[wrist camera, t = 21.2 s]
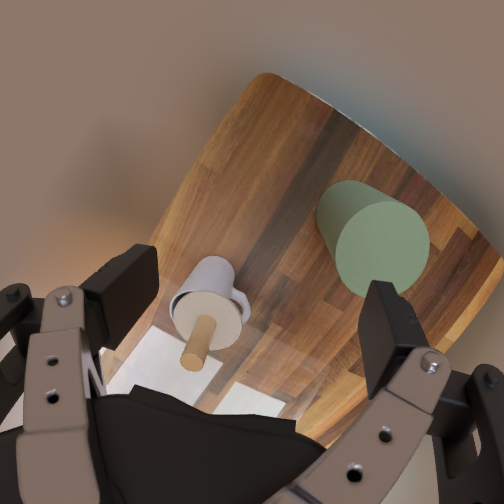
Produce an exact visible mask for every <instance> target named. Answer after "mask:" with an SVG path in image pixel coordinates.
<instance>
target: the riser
mask: <svg viewBox="0 0 504 504" xmlns="http://www.w3.org/2000/svg"><path fill="white" fill-rule="evenodd" d="M316 221H317V225H318V228H319V230H320V232H321V235H322V237H323V239H324V241H325V244H326V246H327V248H328V251H329V253H330V255H331V257H332V260H333V262H334V265H335V267H336V269H337V272H338V274H339V276H340V278H341V280H342V282H343V283H344V284H345V286H346V287H347V288H348V289H349V290H351V291H352V292H353V293H355V294H357V295H359V296H361V297H364V298H366V295H367V291H368V288H369V285H370V283H371V281H372V280H379V281H386V282H392V283H393V285H394V287H395V289H396V291H397V294H400V293H402V292H403V291H405V290H406V289H408V288H409V287H410V286H411V285H412V284H413V283H414V282H415V281H416V280H417V279H418V278H419V276H420V275H421V273H422V271H423V270H424V268H425V265H426V263H427V259H428V256H429V247H430V242H429V235H428V231H427V228H426V226H425V224H424V222H423V220H422V219H421V217H420V216H419V215H418V214H417V213H416V212H415V211H414V210H413V209H411V208H410V207H408V206H406V205H404V204H403V203H401V202H399V201H397V200H395V199H393V198H392V197H390V196H388V195H386V194H384V193H382V192H380V191H378V190H376V189H374V188H372V187H370V186H368V185H366V184H364V183H362V182H359V181H355V180H345V181H341V182H338V183H335V184H334V185H332V186H330V187H329V188H328V189H327V190H326V191H325V192H324V193H323V195H322V196H321V198H320V199H319V202H318V205H317V209H316Z"/></svg>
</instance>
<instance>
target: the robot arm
mask: <svg viewBox="0 0 504 504" xmlns="http://www.w3.org/2000/svg"><path fill="white" fill-rule="evenodd" d="M158 290H159V273H158V258H157V250H156V248H155V247H154V246H149V245H143V244H135V245H134V246H132V247H131V248H130V249H129V250H127V251H126V252H125V253H124V254H121V255H119V256H117V257H114V258H112V259H111V260H110V261H108V262H107V263H106V264H105V265H104V266H102V267H101V268H100V269H99V270H98V272H95V273H94V274H93V275H91V276H90V277H89V278H88V279H87V280H86V281H84V283H82V284H81V285H80V286H79V287H76V286H63V287H59V288H57V289H54V290H53V291H51V292H50V293H49V294H48V295H47V296H46V298H45V299H44V298H32V295H31V292H30V288H29V286H28V285H26V284H22V283H17V284H13V285H10V286H7V287H6V288H4V289H3V290H1V291H0V340H1V339H2V338H3V337H4V336H5V335H6V334H7V333H8V332H9V331H10V333H11V335H12V338H13V340H14V342H15V344H16V345H15V346H14V347H13V348H12V349H11V351H10V352H9V353H8V354H7V355H6V356H5V357H4V359H3V360H2V361H1V362H0V425H1V423H2V422H3V420H4V419H5V417H6V416H7V414H8V413H9V412H10V410H11V409H12V407H13V406H14V404H15V403H16V402H17V400H18V399H19V397H20V396H21V395H22V393H23V392H24V401H23V425H22V426H19V427H16V428H13V429H10V430H7V431H4V432H1V433H0V504H380V503H381V502H382V501H383V499H384V498H385V497H386V495H387V494H388V493H389V491H390V490H391V488H392V487H393V486H394V484H395V483H396V481H397V480H398V478H399V477H400V475H401V474H402V472H403V471H404V469H405V468H406V466H407V465H408V463H409V461H410V460H411V458H412V456H413V455H414V453H415V451H416V450H417V448H418V446H419V445H420V443H421V441H422V439H423V438H424V436H425V434H428V435H432V441H433V447H434V455H435V463H436V472H437V481H438V493H439V504H504V374H503V373H502V372H501V371H500V370H499V369H497V368H496V367H494V366H492V365H489V364H480V365H478V366H477V367H476V368H475V370H474V371H473V373H472V374H471V375H468V374H464V373H461V372H457V371H454V370H451V364H450V361H449V360H448V358H447V357H446V356H445V355H444V354H443V353H442V352H440V351H439V350H437V349H435V348H432V347H430V346H429V343H428V341H427V339H426V336H425V334H424V332H423V329H422V327H421V325H420V324H419V320H418V318H417V317H416V314H415V311H414V309H413V307H412V305H411V304H410V303H409V302H408V301H407V300H405V299H404V298H403V297H399V296H398V294H397V291H396V289H395V287H394V285H393V283H392V282H386V281H379V280H372V281H371V283H370V285H369V288H368V291H367V295H366V298H365V301H364V304H363V307H362V310H361V313H360V317H359V322H358V334H359V340H360V346H361V351H362V358H363V364H364V371H365V377H366V384H367V392H368V400H372V401H371V402H370V403H369V404H368V405H367V407H366V408H365V409H364V410H363V411H362V413H361V414H360V415H359V416H358V417H357V418H356V419H355V421H354V422H353V423H352V424H351V425H350V426H349V427H348V428H347V429H346V430H345V432H344V433H343V434H342V435H341V436H340V437H339V438H338V439H337V440H336V441H335V442H334V443H333V444H332V445H331V446H330V447H329V448H328V449H326V448H324V447H323V446H322V445H320V444H319V443H317V442H316V441H314V440H312V439H311V438H309V437H306V436H304V435H302V434H299V433H296V432H295V427H296V420H289V419H282V418H274V417H268V416H261V415H255V414H246V415H213V414H207V413H204V412H202V411H200V410H198V409H196V408H194V407H192V406H190V405H188V404H186V403H184V402H182V401H180V400H178V399H177V398H175V397H173V396H171V395H168V394H164V393H161V392H158V391H154V390H151V389H148V388H145V387H142V386H139V385H136V384H135V385H134V387H133V388H132V390H131V392H130V393H129V394H111V395H107V391H106V386H105V380H104V374H103V368H102V361H101V355H100V352H99V350H100V349H101V348H102V347H105V348H108V349H111V350H114V351H115V350H116V348H117V347H118V346H119V344H120V343H121V342H122V340H123V339H124V338H125V336H126V335H127V334H128V332H129V331H130V330H131V329H132V327H133V326H134V325H135V323H136V322H137V321H138V319H139V318H140V317H141V316H142V314H143V313H144V312H145V310H146V309H147V308H148V307H149V305H150V304H151V303H152V301H153V300H154V299H155V298H156V296H157V293H158ZM476 428H477V429H478V433H479V437H480V441H481V451H480V454H479V456H477V451H476V447H475V442H474V438H473V434H472V433H473V432H474V430H475V429H476Z"/></svg>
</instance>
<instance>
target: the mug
mask: <svg viewBox="0 0 504 504" xmlns="http://www.w3.org/2000/svg"><path fill="white" fill-rule="evenodd" d="M234 278H235V273H234V269H233V267H232V265H231V264H230V263H229V262H228V261H227V260H226V259H224V258H222V257H219V256H208V257H205V258H203V259H202V260H201V261H200V262H199V263H198V264H197V265H196V267H195V268H194V269H193V271H192V272H191V274H190V275H189V276H188V278H187V279H186V281H185V282H184V283H183V285H182V286H181V288H180V289H179V290H178V292H177V294H176V295H175V297H174V298H173V299H172V301H171V303H170V315H171V318H172V320H173V322H174V318H173V314H174V309H175V307H176V305H177V303H178V302H179V300H180V299H181V298H182V297H183V296H185V295H186V294H188V293H190V292H193V291H198V290H208V291H213V292H217V293H219V294H221V295H224V296H225V297H227V298H228V299H233V300H235V301H237V302H238V303H239V304H240V305H241V307H242V309H243V314H242V315H241V318H242V325H243V324H244V323H246V322H247V321H248V319H249V317H250V314H251V310H250V306H249V303H248V300H247V298H246V295H245V294H244V293H243V292H240V291H238V290H236V289H235V288H234V287H233V283H234Z"/></svg>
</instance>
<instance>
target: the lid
mask: <svg viewBox="0 0 504 504" xmlns="http://www.w3.org/2000/svg"><path fill="white" fill-rule="evenodd" d="M173 318H174V324H175V327H176V329H177V331H178V332H179V334H180V335H181V336H182V337H183V338H184V339H185V340H186V341H187V344H186V346H185V349H184V351H183V353H182V356H181V358H180V363H181V365H182V366H183V367H184V368H185V369H187V370H189V371H193V372H196V371H199V370H201V369H202V368H203V365H204V362H205V359H206V356H207V353H208V350H220V349H224V348H227V347H229V346H230V345H232V344H233V343H234V342H235V341H236V340H237V339H238V337H239V336H240V333H241V329H242V318H241V314H240V312H239V310H238V308H237V307H236V306H235V304H234V303H233V302H232V301H231V300H229V299H228V298H227V297H225V296H224V295H221V294H219V293H217V292H213V291H208V290H198V291H193V292H190V293H188V294H186V295H185V296H183V297H182V298H181V299H180V300H179V302H178V303H177V305H176V307H175V309H174V314H173Z"/></svg>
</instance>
